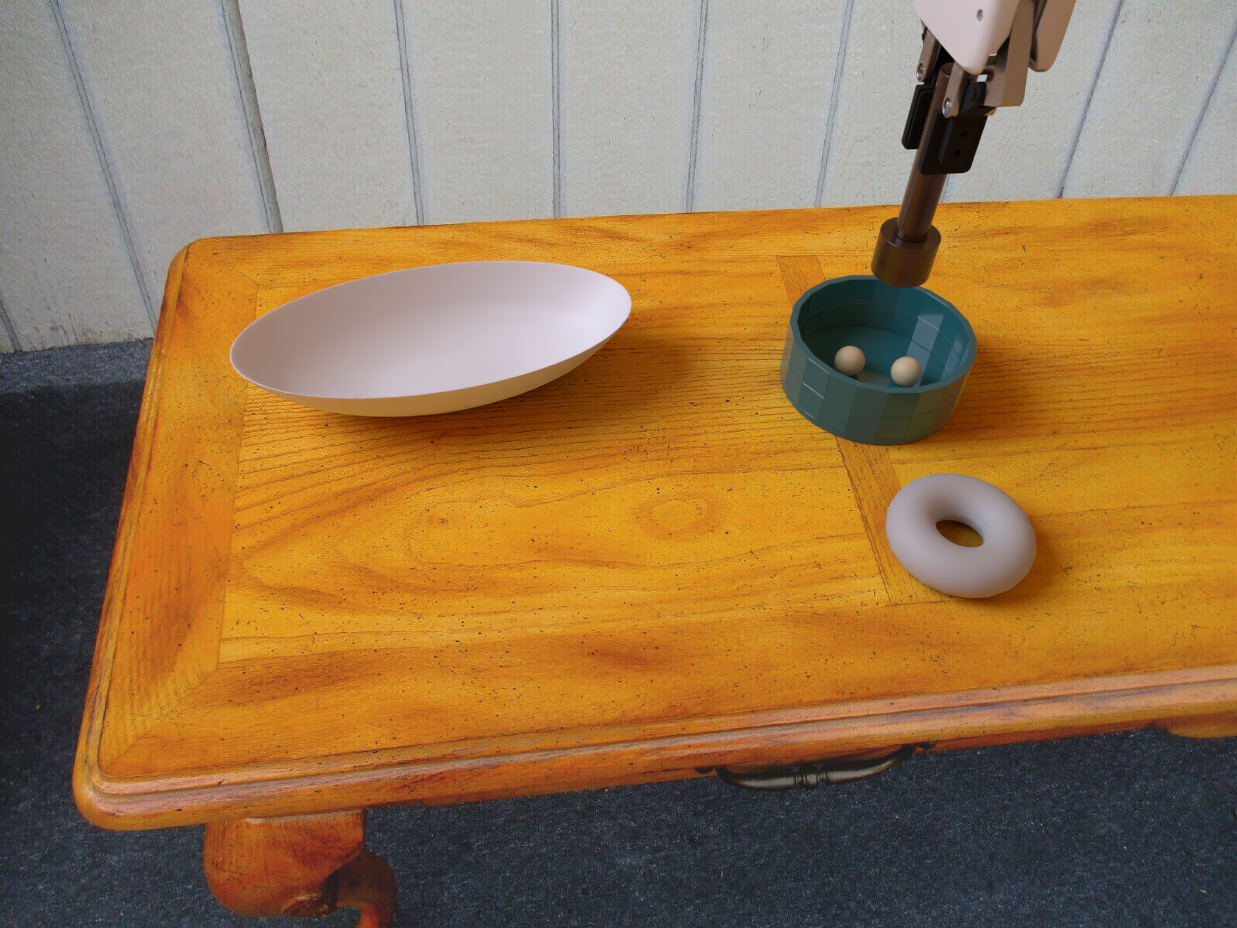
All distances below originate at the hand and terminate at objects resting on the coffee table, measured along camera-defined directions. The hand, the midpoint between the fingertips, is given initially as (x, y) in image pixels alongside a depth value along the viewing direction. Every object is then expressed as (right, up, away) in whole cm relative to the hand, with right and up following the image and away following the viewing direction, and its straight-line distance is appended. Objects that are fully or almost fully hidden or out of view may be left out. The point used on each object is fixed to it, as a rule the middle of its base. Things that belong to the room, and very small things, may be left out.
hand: (934, 156), depth 59 cm
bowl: (-33, -13, +17) cm, 40 cm away
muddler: (0, -6, +6) cm, 9 cm away
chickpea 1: (-1, -11, +18) cm, 21 cm away
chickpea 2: (+3, -12, +17) cm, 21 cm away
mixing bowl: (+1, -12, +18) cm, 22 cm away
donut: (+4, -25, +7) cm, 26 cm away
